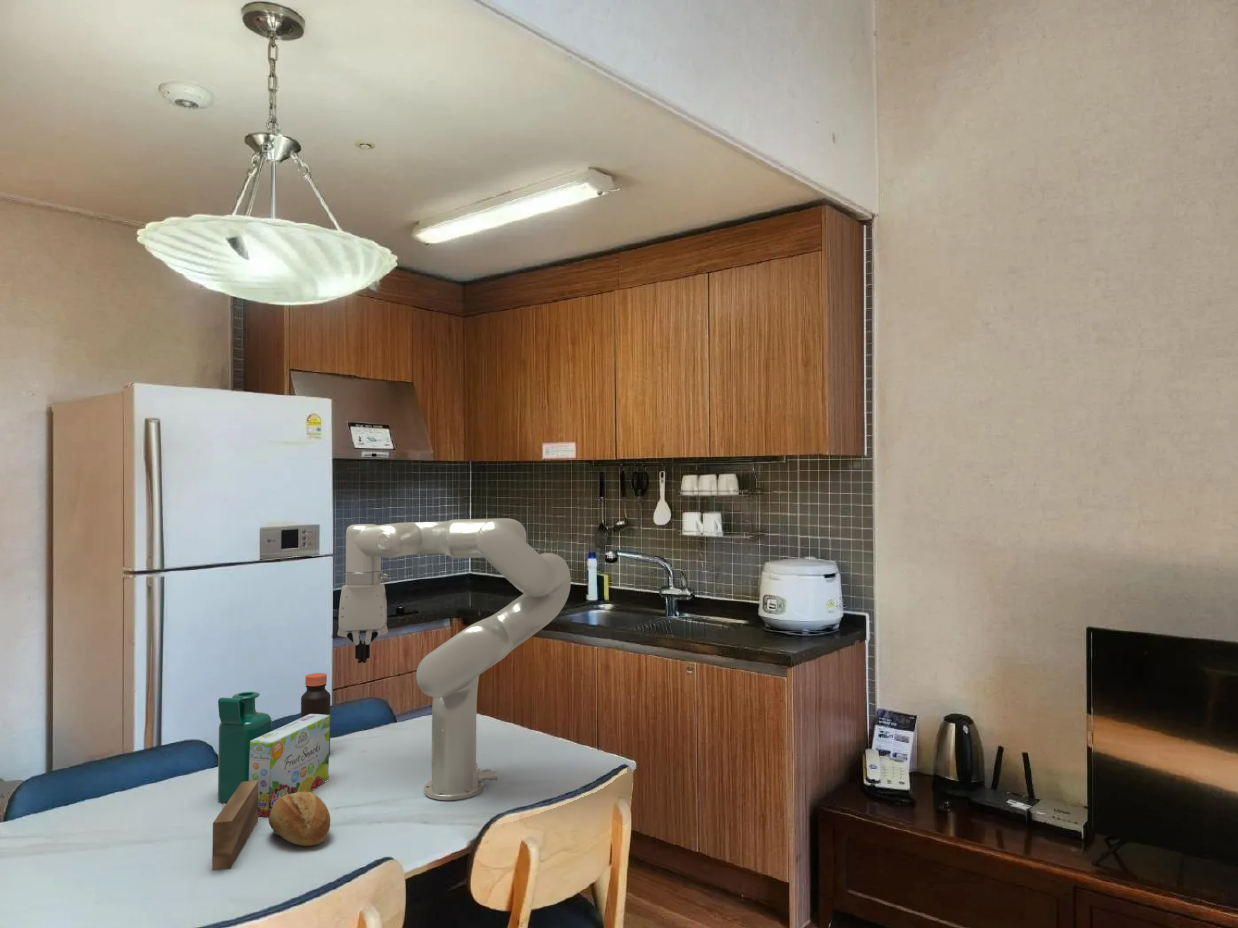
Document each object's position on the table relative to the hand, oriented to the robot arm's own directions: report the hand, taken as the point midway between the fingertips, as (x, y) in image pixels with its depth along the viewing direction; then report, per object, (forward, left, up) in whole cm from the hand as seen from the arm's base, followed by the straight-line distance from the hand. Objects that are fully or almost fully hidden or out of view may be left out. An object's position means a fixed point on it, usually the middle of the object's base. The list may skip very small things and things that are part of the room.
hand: (362, 661), depth 176 cm
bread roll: (+9, +26, -27) cm, 38 cm away
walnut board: (+19, +26, -27) cm, 42 cm away
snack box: (+14, +4, -27) cm, 31 cm away
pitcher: (+24, +2, -27) cm, 36 cm away
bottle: (+13, -22, -27) cm, 37 cm away
